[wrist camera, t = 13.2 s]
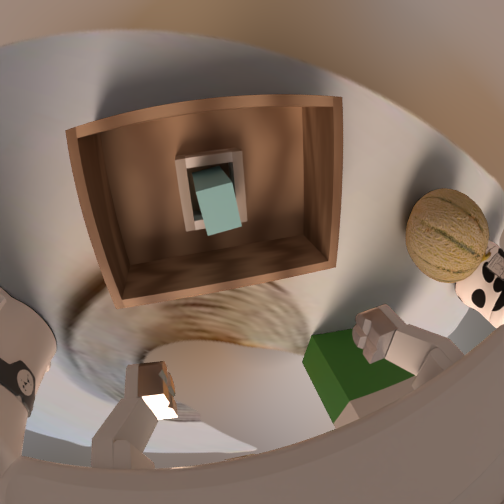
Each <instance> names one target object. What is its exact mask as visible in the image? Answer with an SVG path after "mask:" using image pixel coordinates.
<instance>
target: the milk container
mask: <svg viewBox="0 0 504 504" xmlns="http://www.w3.org/2000/svg"><path fill="white" fill-rule="evenodd" d="M488 251H490V252H491V256H490V257H489V258H488V259H487V260H485V261H483V262H481V263H480V265H479V266H478V268H477V269H476V270H475V271H474V272H473V274H472V275H470V276H469V277H468V278H466V279H464V280H462V281H458V282H456V283H455V291H456V294H457V296H458V297H459V299H460V300H461V301H462V302H463V303H464V304H465V305H467V306H469V307H471V308H473V309H475V310H477V311H479V312H480V313H481V314H482V315H483V316H484V317H485V318H486V319H487V320H488V321H489V322H490V323H491V324H492V325H493V326H494V327H495V328H498V327H499V326H500V325H503V324H504V252H503V250H502V249H501V248H500V247H499V246H498V245H497V244H495V243H493V242H491V241H489V240H488V246H487V249H486V254H487V253H488ZM486 254H485V255H486Z"/></svg>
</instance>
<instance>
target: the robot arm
mask: <svg viewBox="0 0 504 504" xmlns="http://www.w3.org/2000/svg"><path fill="white" fill-rule="evenodd" d="M355 321H356V322H357V324H356V325H355V326H354V327H353V331H352V335H353V340H354V342H355V344H356V345H357V347H359V348H361V349H363V355H364V357H365V358H366V359H367V361H368V362H369V363H370V364H371V363H373V362H376V361H378V360H381V359H383V358H385V359H386V360H388V361H390V362H392V363H394V364H396V365H397V366H399V367H401V368H403V369H405V370H406V371H408V372H410V373H412V374H414V375H416V377H415V379H414V380H413V382H412V385H411V386H412V387H413V389H414V390H413V391H411V392H410V393H408V394H406V395H405V396H403V397H401V398H399V399H397V400H396V401H394V402H392V403H390V404H388V405H386V406H384V407H382V408H380V409H379V410H377V411H375V412H372V413H370V414H368V415H366V416H364V417H362V418H360V419H358V420H355V421H353V422H351V423H349V424H346V425H344V426H341V427H339V428H337V429H334V430H332V431H329V432H326V433H324V434H321V435H318V436H316V437H313V438H310V439H307V440H304V441H301V442H298V443H295V444H292V445H289V446H285V447H282V448H278V449H275V450H271V451H268V452H263V453H259V454H255V455H251V456H247V457H242V458H237V459H232V460H227V461H221V462H216V463H209V464H202V465H194V466H185V467H175V468H159V469H155V466H154V462H152V461H151V460H150V459H149V458H147V457H146V456H145V455H144V454H142V453H143V451H144V449H145V447H146V445H147V443H148V441H149V439H150V437H151V435H152V433H153V431H154V429H155V427H156V425H157V423H158V420H160V419H167V418H174V417H178V413H177V404H176V402H175V400H174V398H173V397H174V396H175V387H174V382H173V379H172V376H171V374H170V373H169V372H167V366H166V364H165V362H164V361H160V362H152V363H141V364H133V365H128V366H127V368H126V379H125V396H124V399H121V400H120V401H119V403H118V404H117V405H116V407H115V408H114V409H113V411H112V412H111V413H110V415H109V416H108V418H107V419H106V420H105V422H104V423H103V424H102V426H101V427H100V429H99V430H98V431H97V433H96V434H95V435H94V437H93V438H92V453H91V467H82V466H74V465H66V464H60V463H54V462H48V461H44V460H39V459H35V458H30V457H26V456H22V446H23V439H24V433H25V427H26V422H27V418H28V417H30V415H31V411H32V410H33V404H34V400H35V395H36V393H37V391H38V388H39V386H40V384H41V381H42V379H43V376H44V374H45V372H48V371H49V369H50V366H51V362H50V361H51V359H52V358H53V356H54V355H55V353H56V341H55V338H54V335H53V333H52V331H51V330H50V328H49V327H48V325H47V324H46V323H45V321H44V320H43V319H42V318H41V317H40V316H39V315H38V314H37V313H36V312H35V311H33V310H32V309H31V308H30V307H28V306H27V305H25V304H23V303H22V302H20V301H18V300H16V299H14V298H12V297H11V296H10V295H8V294H7V293H6V292H5V291H4V290H3V289H2V288H1V287H0V504H504V324H503V325H500V326H499V327H498V328H497V329H496V330H495V331H493V332H492V333H491V334H490V335H489V336H488V337H487V338H485V339H484V340H483V341H482V342H481V343H480V344H478V345H477V346H476V347H475V348H473V349H472V350H471V351H470V352H468V353H467V354H466V355H464V354H463V353H462V352H461V351H460V349H458V347H457V346H456V345H455V344H454V343H453V342H452V341H451V340H450V339H449V338H446V337H443V336H440V335H438V334H435V333H432V332H429V331H427V330H424V329H421V328H418V327H416V326H413V325H410V324H408V325H406V324H405V323H404V321H403V320H402V319H401V318H400V317H399V316H398V315H397V314H396V313H395V312H394V311H393V310H392V309H391V308H390V307H389V306H388V305H386V304H384V305H381V306H378V307H376V308H372V309H369V310H367V311H364V312H361V313H358V314H357V315H356V318H355Z"/></svg>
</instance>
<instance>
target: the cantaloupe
mask: <svg viewBox="0 0 504 504" xmlns="http://www.w3.org/2000/svg"><path fill="white" fill-rule="evenodd" d="M488 240H489V230H488V224H487V221H486V218H485V216H484V214H483V212H482V210H481V209H480V208H479V207H478V205H477V204H476V203H475V202H474V201H473V200H472V199H470V198H469V197H468V196H467V195H465V194H463V193H461V192H459V191H457V190H453V189H447V188H444V189H443V188H442V189H437V190H434V191H431V192H429V193H427V194H426V195H424V196H423V197H422V198H421V199H420V200H419V201H418V202H417V203H416V204H415V206H414V207H413V209H412V212H411V214H410V217H409V219H408V222H407V227H406V246H407V250H408V252H409V254H410V257H411V258H412V260H413V261H414V263H415V264H416V266H417V267H418V268H419V269H420V270H421V271H422V272H423V273H424V274H426V275H427V276H429V277H430V278H432V279H434V280H436V281H439V282H445V283H455V282H458V281H462V280H464V279H466V278H468V277H469V276H470V275H472V274H473V272H474V271H475V270H476V269H477V268H478V266H479V265H480V263H481V262H483V261H485V260H487V259H488V258H489V257H490V256H491V252H490V251H488V253H487V254H486V249H487V246H488ZM485 254H486V255H485Z"/></svg>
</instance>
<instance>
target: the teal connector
mask: <svg viewBox="0 0 504 504" xmlns="http://www.w3.org/2000/svg"><path fill="white" fill-rule="evenodd" d="M192 176H193V181H194V186H195V191H196V195H197V199H198V202H199V206H200V210H201V213H202V217H203V220H204V224H205V228H206V231H207V235H208V236H210V235H213V234H217V233H220V232H224V231H227V230H231V229H234V228H238V227H242V225H241V220H240V216H239V211H238V207H237V202H236V197H235V193H234V188H233V184H232V181H231V180H230V179H229V178H228V176H227V175H226V174H225V172H224V171H223V170H222V169H221V167H220V166H216V167H212V168H208V169H204V170H200V171H197V172H193V173H192Z"/></svg>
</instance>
